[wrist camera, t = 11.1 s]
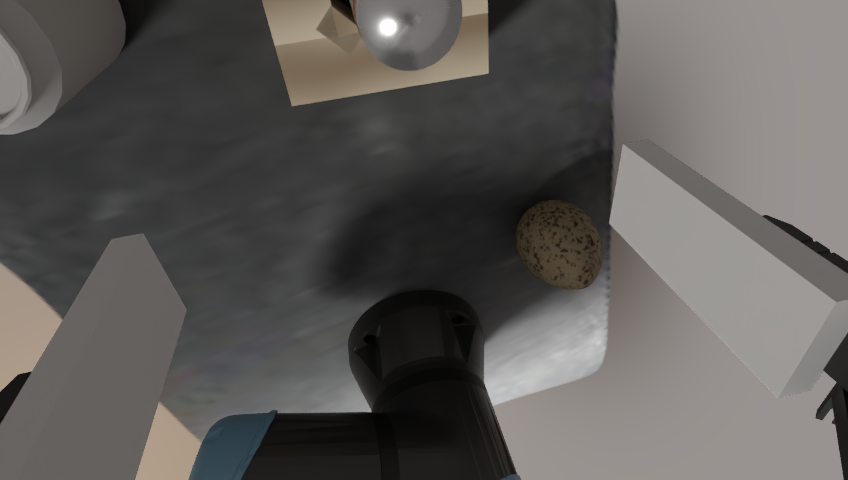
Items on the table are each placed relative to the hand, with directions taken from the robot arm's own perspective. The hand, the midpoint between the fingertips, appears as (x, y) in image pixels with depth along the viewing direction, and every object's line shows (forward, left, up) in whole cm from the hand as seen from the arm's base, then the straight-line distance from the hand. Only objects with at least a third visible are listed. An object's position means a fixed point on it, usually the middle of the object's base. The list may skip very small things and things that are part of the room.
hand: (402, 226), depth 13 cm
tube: (+4, -2, -24) cm, 24 cm away
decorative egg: (-19, -15, -24) cm, 35 cm away
